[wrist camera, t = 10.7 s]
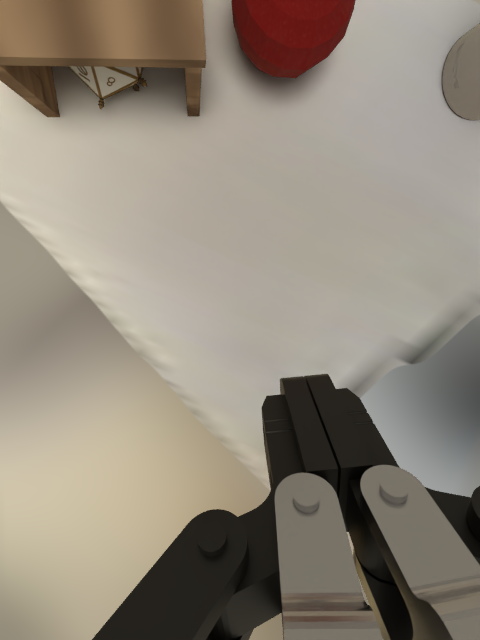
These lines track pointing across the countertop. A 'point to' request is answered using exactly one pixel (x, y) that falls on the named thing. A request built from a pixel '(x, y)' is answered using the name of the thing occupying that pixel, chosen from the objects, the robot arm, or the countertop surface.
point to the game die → (109, 79)
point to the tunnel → (98, 42)
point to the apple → (290, 32)
